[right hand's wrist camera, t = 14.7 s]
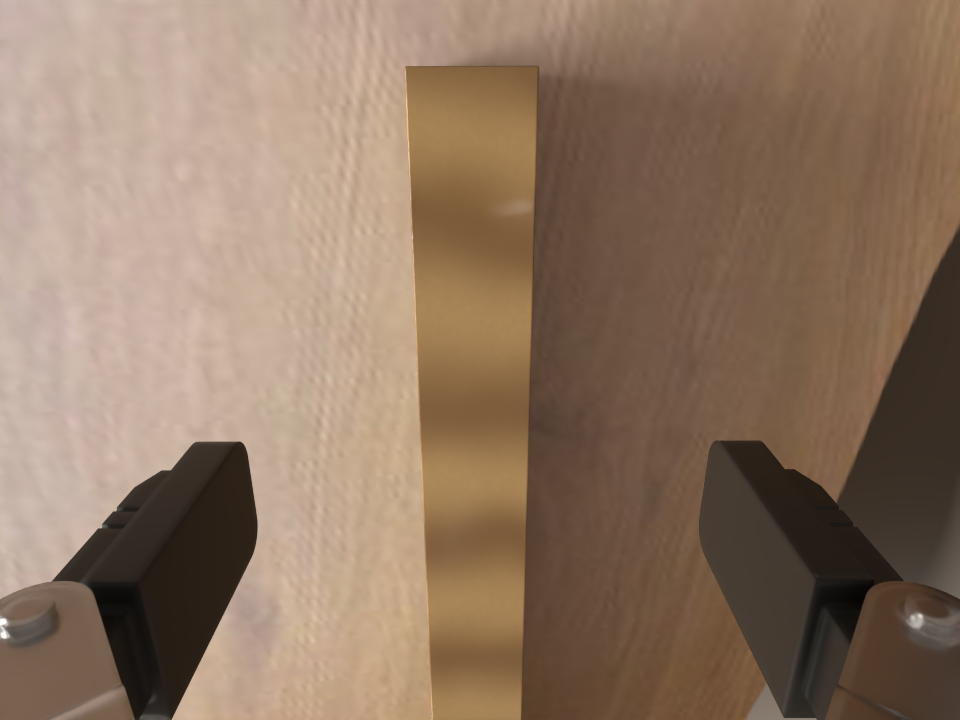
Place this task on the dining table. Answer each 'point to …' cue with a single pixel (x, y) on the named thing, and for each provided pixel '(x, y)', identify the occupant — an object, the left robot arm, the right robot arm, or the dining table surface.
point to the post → (474, 371)
